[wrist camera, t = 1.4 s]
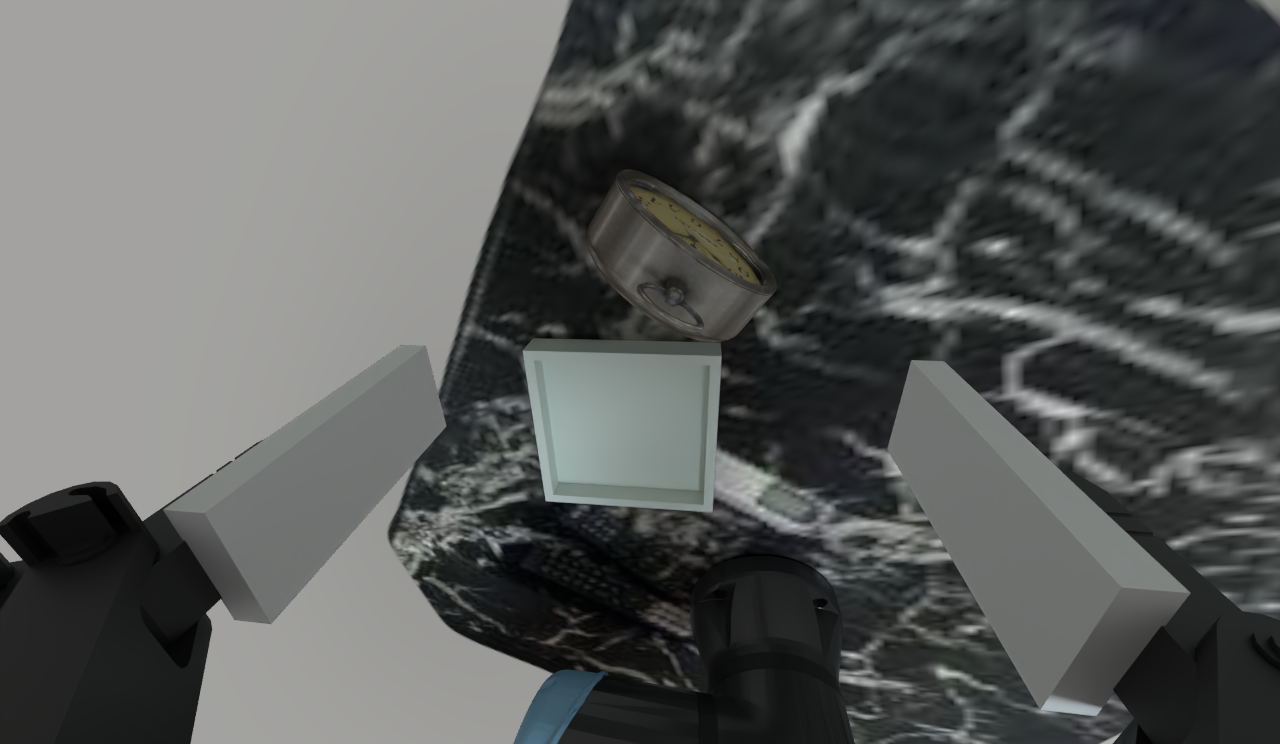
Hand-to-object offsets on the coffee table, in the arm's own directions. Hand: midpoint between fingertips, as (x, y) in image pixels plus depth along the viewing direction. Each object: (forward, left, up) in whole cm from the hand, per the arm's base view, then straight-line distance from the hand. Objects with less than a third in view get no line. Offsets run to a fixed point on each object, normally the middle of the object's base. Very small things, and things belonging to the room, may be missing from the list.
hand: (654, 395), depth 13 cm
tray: (-16, +5, -23) cm, 28 cm away
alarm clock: (0, 0, -23) cm, 23 cm away
